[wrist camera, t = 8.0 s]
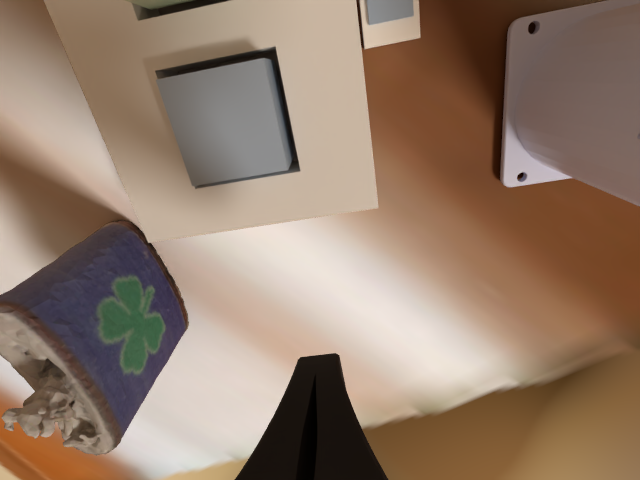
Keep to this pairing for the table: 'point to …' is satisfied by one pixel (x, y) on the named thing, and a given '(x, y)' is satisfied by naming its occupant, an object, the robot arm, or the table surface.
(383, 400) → the table surface
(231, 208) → the keypad base
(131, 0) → the sage key
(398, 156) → the table surface
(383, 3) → the tile
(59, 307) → the flask
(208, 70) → the slate key
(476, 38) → the table surface
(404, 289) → the table surface
